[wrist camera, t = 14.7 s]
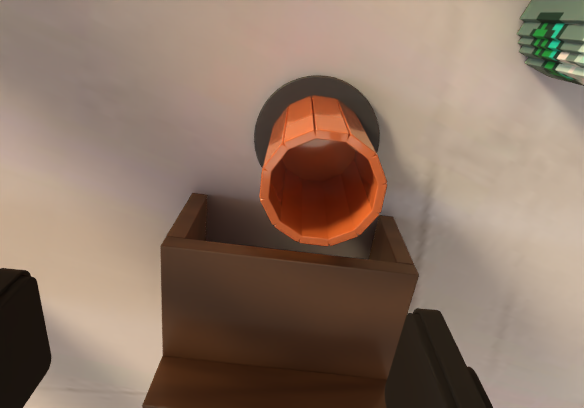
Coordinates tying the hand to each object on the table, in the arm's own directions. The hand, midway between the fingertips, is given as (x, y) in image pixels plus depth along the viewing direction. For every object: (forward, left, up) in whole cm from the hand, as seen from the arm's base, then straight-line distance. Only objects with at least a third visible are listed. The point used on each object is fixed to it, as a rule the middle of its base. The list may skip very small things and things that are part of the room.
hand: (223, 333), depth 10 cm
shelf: (+11, +2, -21) cm, 24 cm away
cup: (+1, +3, -21) cm, 21 cm away
